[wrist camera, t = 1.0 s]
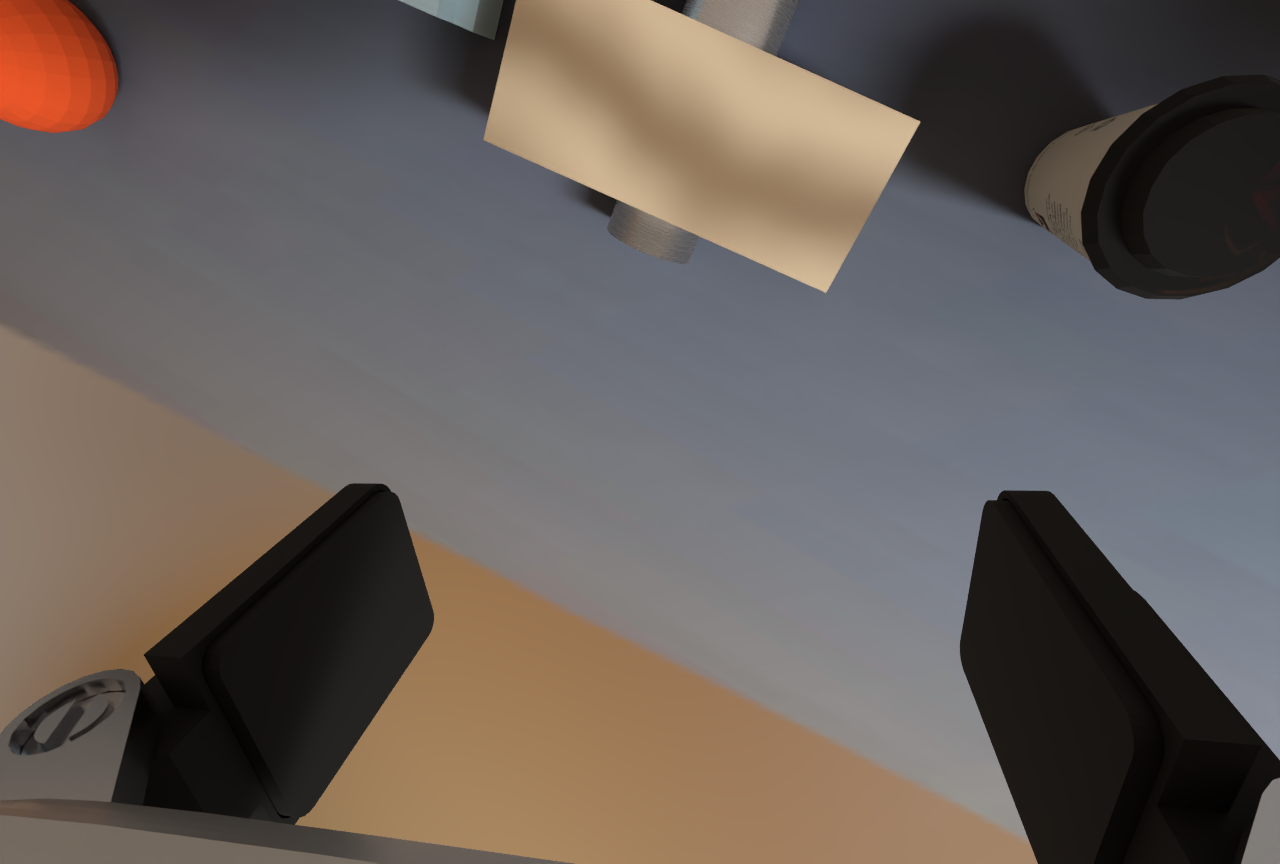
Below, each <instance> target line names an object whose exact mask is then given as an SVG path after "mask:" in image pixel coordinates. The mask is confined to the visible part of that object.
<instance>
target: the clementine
mask: <svg viewBox="0 0 1280 864" xmlns="http://www.w3.org/2000/svg"><path fill="white" fill-rule="evenodd" d="M117 91H118V73H117V67H116V63H115V60H114V58H113V55H112V52H111V50H110V48H109V46H108V44H107V43H106V41H105V39H104V38H103V36H102V35H101V33H100V32H99V31H98V30H97V29H96V27H95V26H94V25H93V24H92V23H91V21H90V20H89V19H88V18H87V17H86V16H85V15H84V14H83V12H81V11H80V10H79V9H78V8H77V7H75V6H74V5H73V4H72V3H71V2H69V1H68V0H0V119H1V120H4V121H6V122H9V123H11V124H14V125H16V126H19V127H23V128H27V129H32V130H37V131H44V132H51V133H56V132H65V131H73V130H80V129H84V128H86V127H87V126H89V125H91V124H93V123H94V122H96V121H98V120H100V119H101V118H103V117H104V116H105V115H106V114H107V112H108V111H109V110H110V108H111V107H112V105H113V103H114V101H115V98H116V95H117Z"/></svg>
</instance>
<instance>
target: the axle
mask: <svg viewBox="0 0 1280 864" xmlns="http://www.w3.org/2000/svg"><path fill="white" fill-rule="evenodd" d="M799 1H800V0H686V3H685V6H684V9H683V12H682V14H683V15H685V16H687V17H689V18H691V19H694V20H696V21H698V22H700V23H703V24H705V25H707V26H709V27H711V28H714V29H716V30H718V31H720V32H723V33H725V34H727V35H729V36H731V37H734V38H736V39H738V40H740V41H742V42H745V43H747V44H749V45H751V46H754V47H756V48H758V49H760V50H762V51H765V52H767V53H769V54H771V55H774V56H776V55H777V53H778V50H779V48H780V46H781V43H782V41H783V39H784V36H785V34H786V32H787V29H788V27H789V24H790V22H791V20H792V17H793V15H794V13H795V10H796V8H797V6H798V3H799ZM607 229H608V231H609V232H610V233H611V234H612V235H613V236H614V237H616V238H617V239H619V240H620V241H622V242H623V243H625V244H627V245H629V246H631V247H633V248H635V249H637V250H639V251H641V252H644V253H646V254H648V255H651V256H654V257H656V258H659V259H662V260H666V261H669V262H674V263H680V264H686V263H688V262H689V260H690V258H691V255H692V253H693V250H694V248H695V246H696V243H697V241H698V239H699V236H698V235H695V234H693V233H691V232H689V231H687V230H684V229H682V228H680V227H678V226H675V225H673V224H671V223H669V222H666V221H664V220H662V219H660V218H657V217H655V216H653V215H651V214H648V213H646V212H644V211H642V210H639V209H637V208H635V207H633V206H630V205H628V204H626V203H624V202H621V201H619V200H617V201H616V204H615V207H614V210H613V213H612V216H611V219H610V221H609V224H608V227H607Z"/></svg>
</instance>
